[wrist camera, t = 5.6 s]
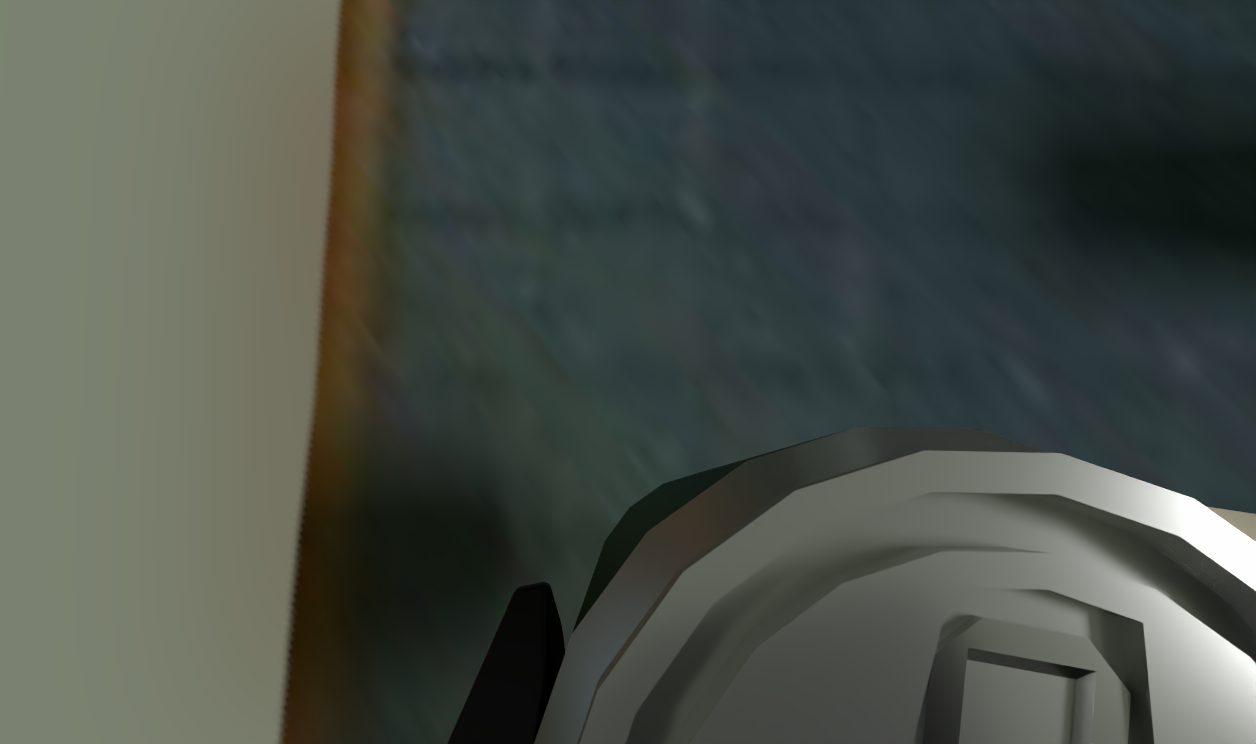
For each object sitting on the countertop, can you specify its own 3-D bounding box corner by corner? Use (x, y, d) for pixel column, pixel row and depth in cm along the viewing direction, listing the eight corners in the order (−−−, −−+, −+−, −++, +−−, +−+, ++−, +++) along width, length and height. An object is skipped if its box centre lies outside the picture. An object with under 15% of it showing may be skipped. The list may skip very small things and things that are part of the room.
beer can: (615, 452, 16) (598, 330, 4) (857, 495, 16) (1541, 498, 4) (568, 708, 15) (381, 1466, 3) (825, 756, 15) (1578, 1717, 3)
